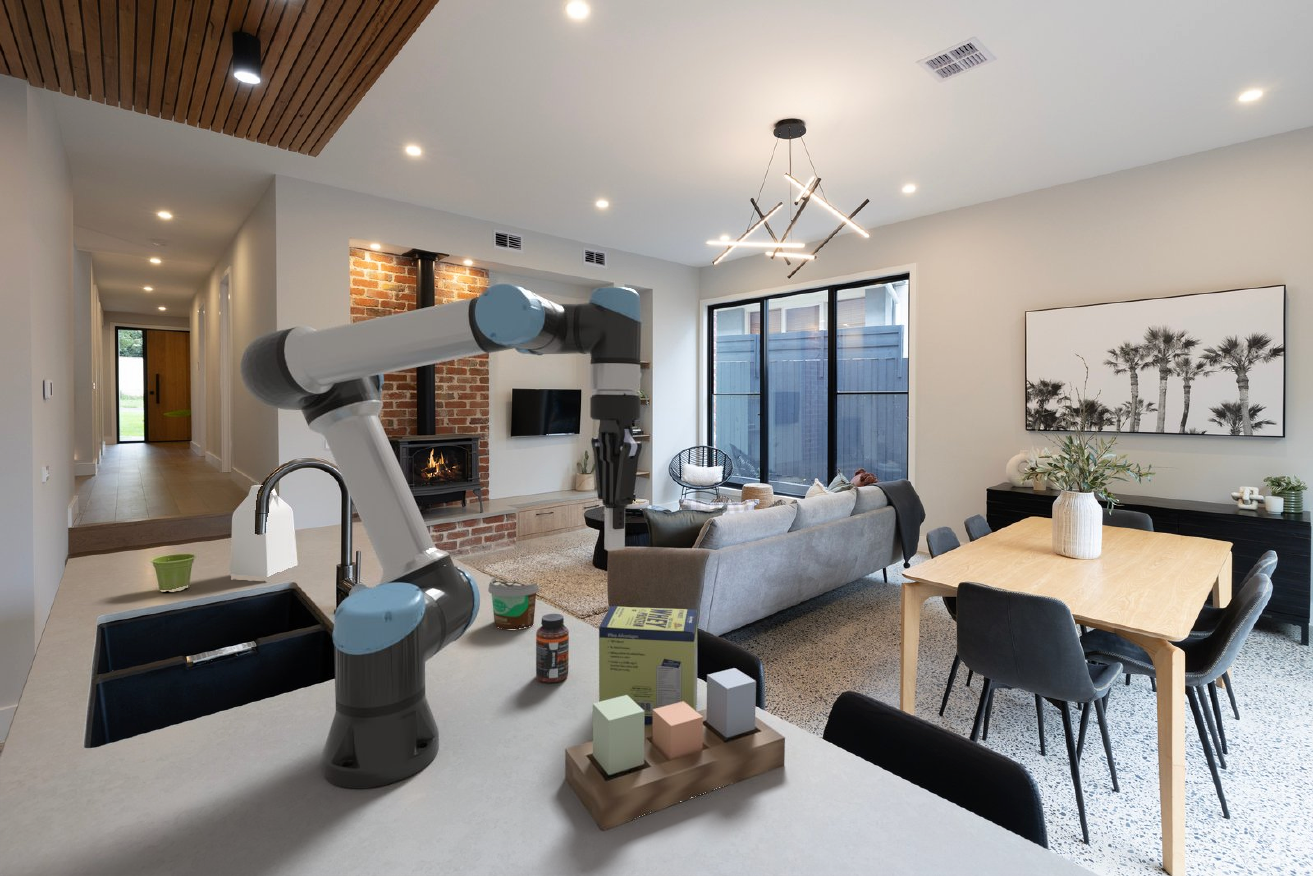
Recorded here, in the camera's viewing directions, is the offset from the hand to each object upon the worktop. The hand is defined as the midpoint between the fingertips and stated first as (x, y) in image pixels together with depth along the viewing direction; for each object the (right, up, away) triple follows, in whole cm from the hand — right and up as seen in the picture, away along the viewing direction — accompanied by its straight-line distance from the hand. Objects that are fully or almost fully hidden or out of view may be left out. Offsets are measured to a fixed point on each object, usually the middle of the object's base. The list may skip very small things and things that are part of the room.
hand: (614, 548), depth 94 cm
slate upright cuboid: (+17, -25, -5) cm, 30 cm away
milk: (-106, -23, +84) cm, 138 cm away
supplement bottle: (-13, -27, +20) cm, 36 cm away
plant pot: (-121, -24, +70) cm, 142 cm away
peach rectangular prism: (+9, -28, -9) cm, 31 cm away
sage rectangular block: (+1, -25, -14) cm, 28 cm away
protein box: (+5, -28, +8) cm, 30 cm away
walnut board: (+9, -29, -9) cm, 32 cm away
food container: (-27, -26, +45) cm, 59 cm away
